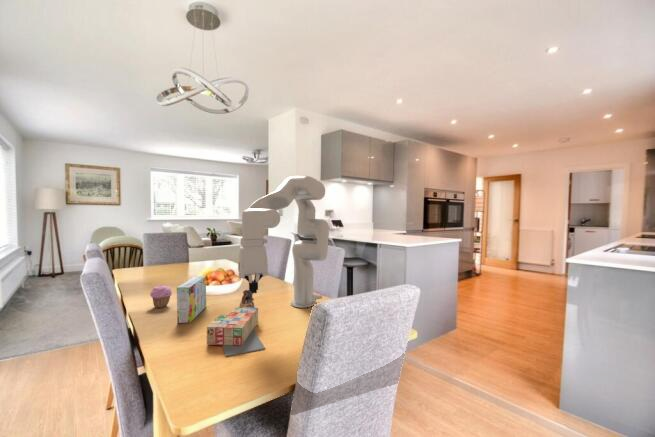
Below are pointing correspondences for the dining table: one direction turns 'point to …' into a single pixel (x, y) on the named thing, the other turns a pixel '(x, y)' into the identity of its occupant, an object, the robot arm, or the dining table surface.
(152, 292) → the cupcake
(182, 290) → the snack box
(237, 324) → the stack of blocks
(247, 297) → the figurine
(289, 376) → the dining table surface
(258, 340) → the mat
